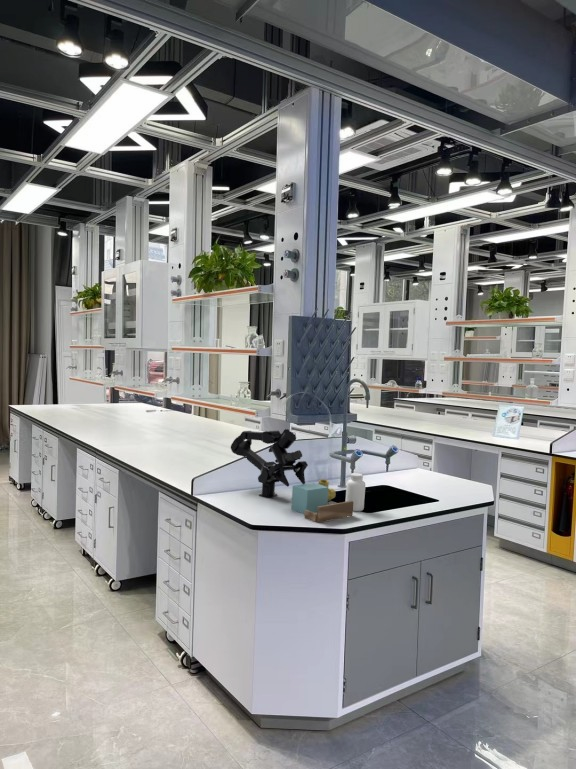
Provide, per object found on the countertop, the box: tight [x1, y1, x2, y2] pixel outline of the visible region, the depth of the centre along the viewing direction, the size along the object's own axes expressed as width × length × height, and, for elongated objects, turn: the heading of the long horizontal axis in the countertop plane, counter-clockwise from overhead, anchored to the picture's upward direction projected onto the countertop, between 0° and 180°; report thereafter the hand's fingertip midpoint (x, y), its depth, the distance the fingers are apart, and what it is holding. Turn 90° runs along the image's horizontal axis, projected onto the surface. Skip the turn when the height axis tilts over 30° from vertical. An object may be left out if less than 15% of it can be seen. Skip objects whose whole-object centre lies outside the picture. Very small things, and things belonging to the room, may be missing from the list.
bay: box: [303, 501, 354, 524], centre depth 227 cm, size 8×20×6 cm, turn 131°
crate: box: [290, 482, 329, 515], centre depth 236 cm, size 9×12×10 cm
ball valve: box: [318, 478, 337, 502], centre depth 253 cm, size 13×10×10 cm
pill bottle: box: [344, 472, 366, 512], centre depth 242 cm, size 8×8×15 cm
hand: (296, 485), depth 242 cm, fingers open, 9 cm apart
